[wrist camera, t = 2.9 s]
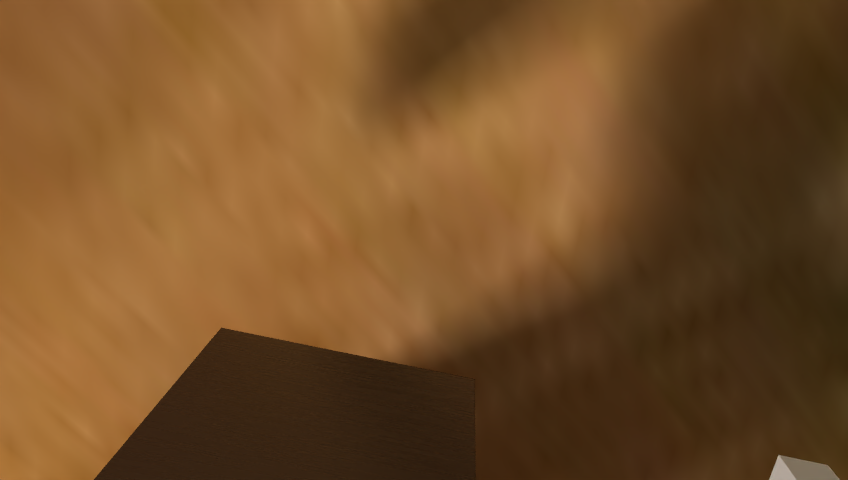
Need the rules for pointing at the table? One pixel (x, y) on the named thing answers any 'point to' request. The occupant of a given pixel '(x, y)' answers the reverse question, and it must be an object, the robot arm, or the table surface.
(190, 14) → the table surface
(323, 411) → the shaft
